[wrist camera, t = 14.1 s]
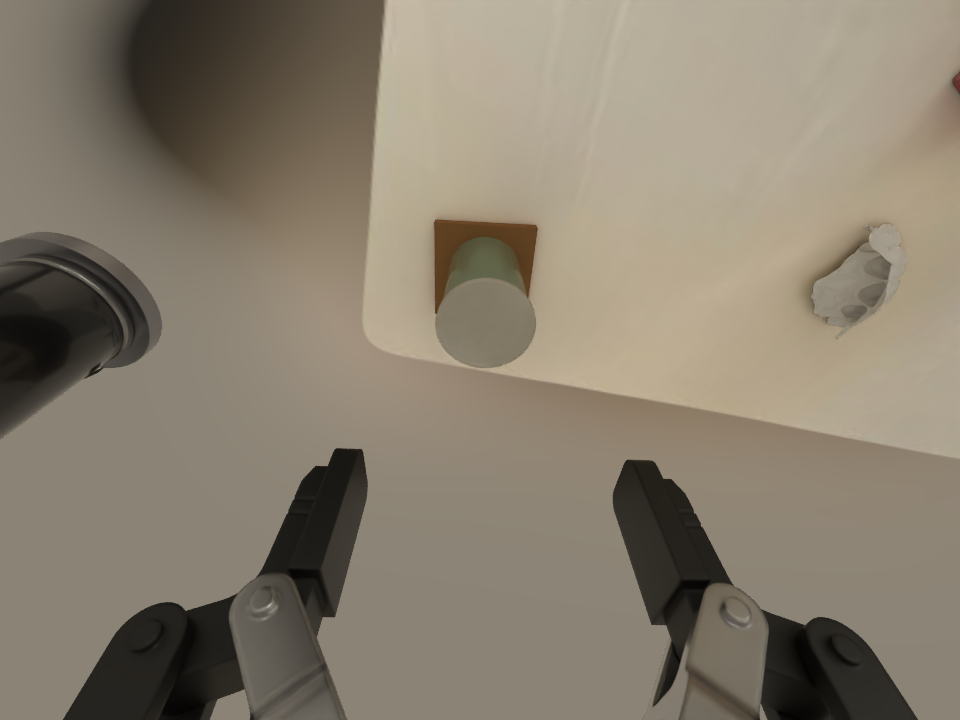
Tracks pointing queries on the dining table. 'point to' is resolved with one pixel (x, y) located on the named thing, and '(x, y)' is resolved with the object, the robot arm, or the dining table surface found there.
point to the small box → (957, 82)
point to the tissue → (862, 280)
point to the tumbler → (485, 305)
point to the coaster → (459, 232)
